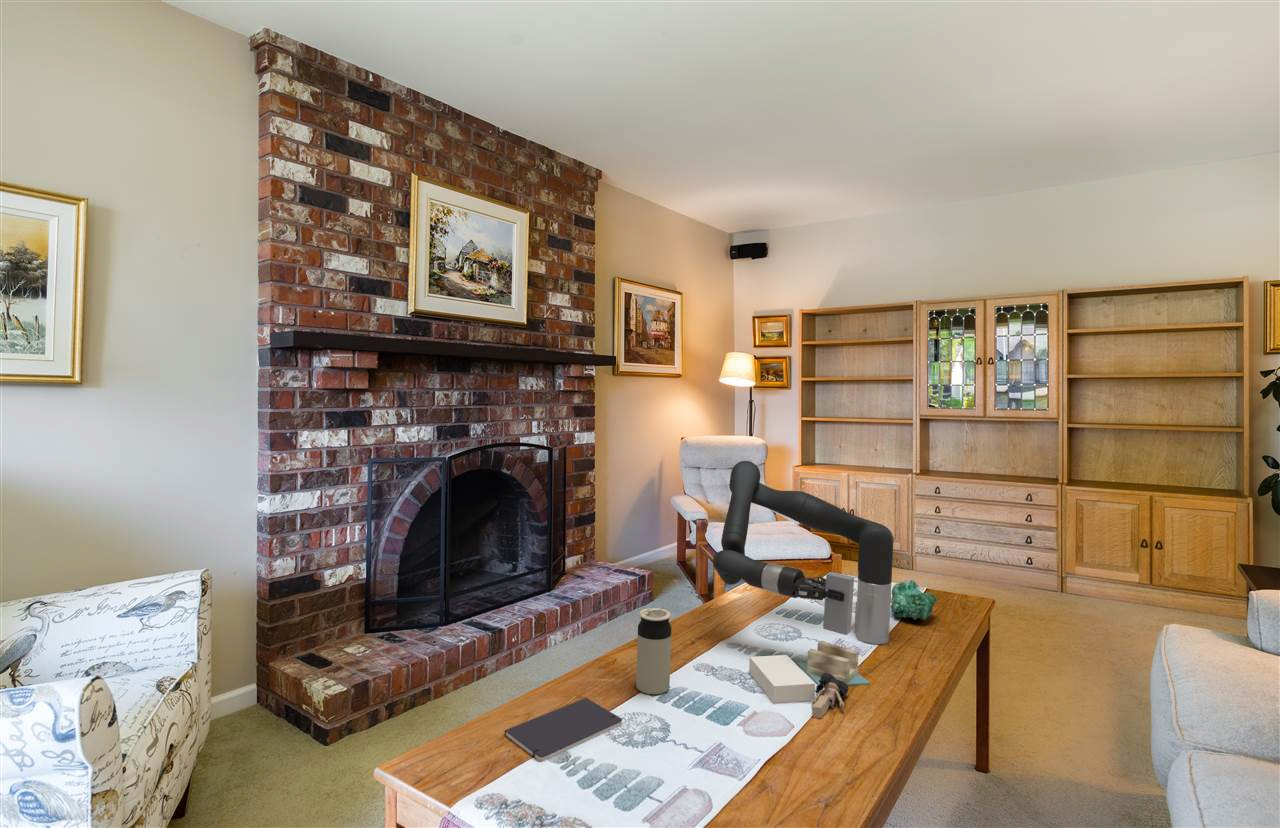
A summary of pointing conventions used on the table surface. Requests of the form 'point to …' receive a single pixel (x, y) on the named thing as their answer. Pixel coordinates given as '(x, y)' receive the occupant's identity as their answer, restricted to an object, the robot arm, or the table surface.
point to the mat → (854, 681)
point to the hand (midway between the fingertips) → (846, 595)
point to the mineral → (911, 601)
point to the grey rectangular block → (839, 604)
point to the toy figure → (828, 694)
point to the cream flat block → (781, 679)
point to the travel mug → (653, 651)
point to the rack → (833, 661)
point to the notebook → (563, 728)
